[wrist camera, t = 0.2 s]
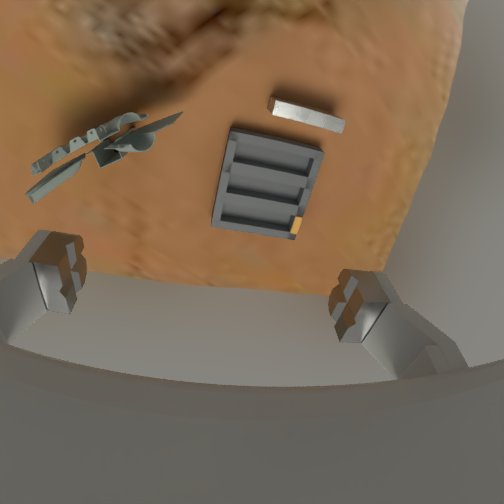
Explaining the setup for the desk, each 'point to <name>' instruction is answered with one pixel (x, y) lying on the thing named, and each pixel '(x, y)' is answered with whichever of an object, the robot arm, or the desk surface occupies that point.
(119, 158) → the bracket
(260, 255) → the desk surface
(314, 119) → the panel
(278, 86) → the desk surface
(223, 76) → the desk surface
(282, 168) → the rack
